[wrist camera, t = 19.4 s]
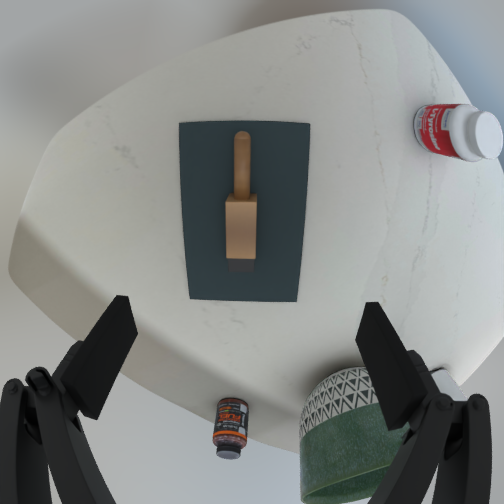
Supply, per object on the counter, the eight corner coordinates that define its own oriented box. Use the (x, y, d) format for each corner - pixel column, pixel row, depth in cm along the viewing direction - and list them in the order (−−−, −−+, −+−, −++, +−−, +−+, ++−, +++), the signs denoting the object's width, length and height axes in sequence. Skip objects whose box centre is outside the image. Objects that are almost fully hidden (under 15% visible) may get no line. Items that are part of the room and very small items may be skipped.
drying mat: (180, 123, 27) (179, 122, 27) (309, 123, 27) (310, 123, 26) (190, 297, 36) (189, 299, 36) (296, 300, 36) (296, 302, 35)
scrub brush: (229, 131, 27) (225, 130, 23) (258, 131, 27) (258, 131, 23) (230, 257, 33) (226, 273, 29) (255, 258, 33) (255, 274, 29)
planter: (332, 419, 49) (347, 505, 29) (267, 387, 44) (270, 500, 24) (410, 370, 43) (449, 459, 23) (360, 322, 38) (410, 447, 18)
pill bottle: (410, 102, 25) (468, 98, 15) (446, 108, 24) (505, 109, 14) (413, 151, 27) (471, 165, 17) (449, 154, 27) (507, 169, 17)
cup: (457, 365, 43) (481, 405, 32) (429, 394, 47) (447, 435, 35) (434, 360, 42) (460, 406, 30) (403, 392, 46) (422, 438, 34)
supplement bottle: (243, 395, 45) (240, 448, 34) (252, 411, 47) (251, 460, 37) (212, 398, 45) (204, 449, 35) (223, 414, 48) (218, 462, 37)
